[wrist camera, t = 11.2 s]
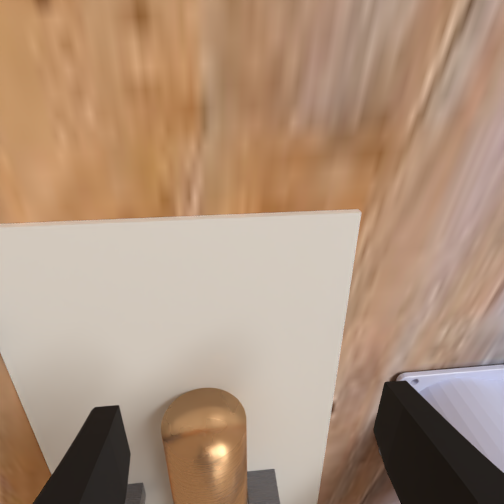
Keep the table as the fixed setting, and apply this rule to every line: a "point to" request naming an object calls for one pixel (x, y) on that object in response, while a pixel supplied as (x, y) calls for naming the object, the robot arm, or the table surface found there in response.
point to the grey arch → (258, 489)
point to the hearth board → (181, 330)
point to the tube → (206, 448)
